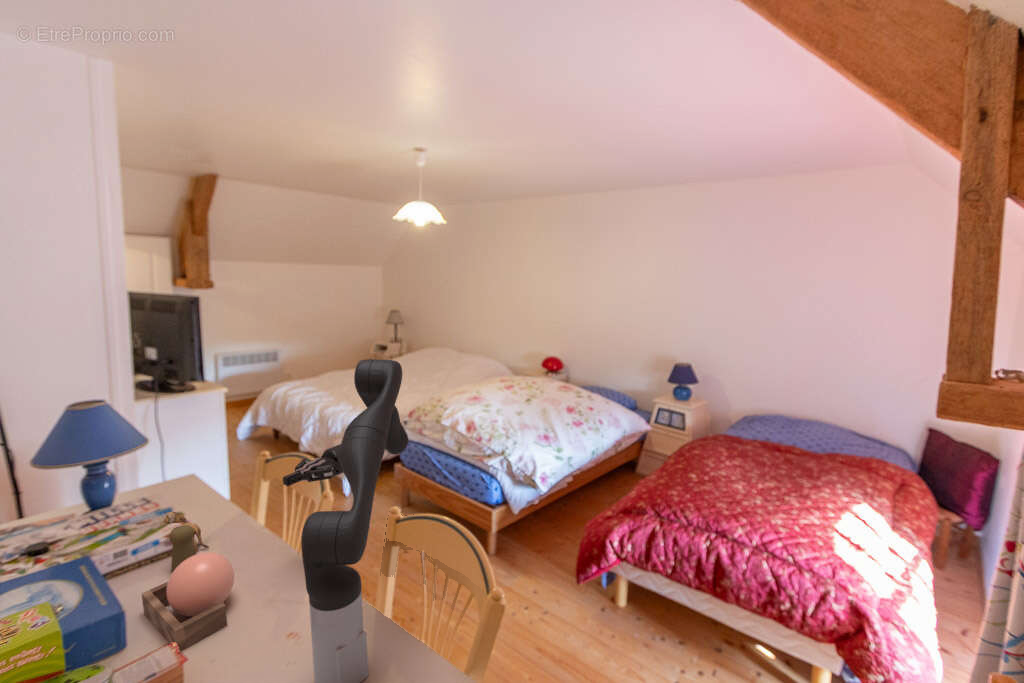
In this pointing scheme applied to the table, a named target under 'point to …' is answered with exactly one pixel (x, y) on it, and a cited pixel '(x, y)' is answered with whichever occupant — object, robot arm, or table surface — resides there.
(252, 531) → the table surface
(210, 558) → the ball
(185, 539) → the cork
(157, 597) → the stall
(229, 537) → the table surface
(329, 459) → the robot arm
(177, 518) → the lion figurine
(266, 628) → the table surface
